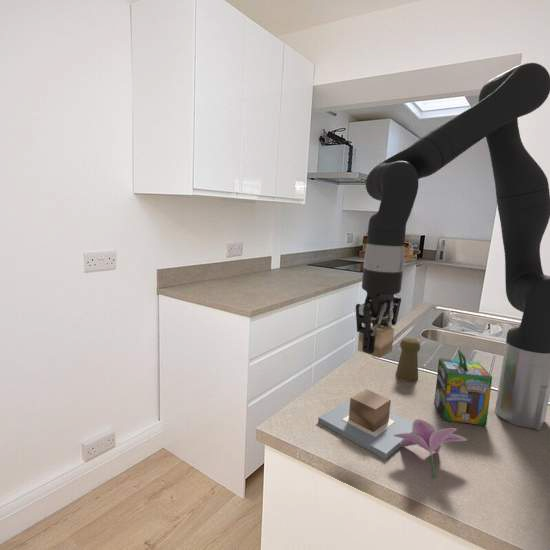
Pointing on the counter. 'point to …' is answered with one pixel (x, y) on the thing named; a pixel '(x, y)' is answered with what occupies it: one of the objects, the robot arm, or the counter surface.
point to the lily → (428, 437)
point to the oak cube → (379, 341)
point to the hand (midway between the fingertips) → (375, 348)
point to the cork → (408, 360)
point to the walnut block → (369, 410)
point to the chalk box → (462, 391)
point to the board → (373, 441)
